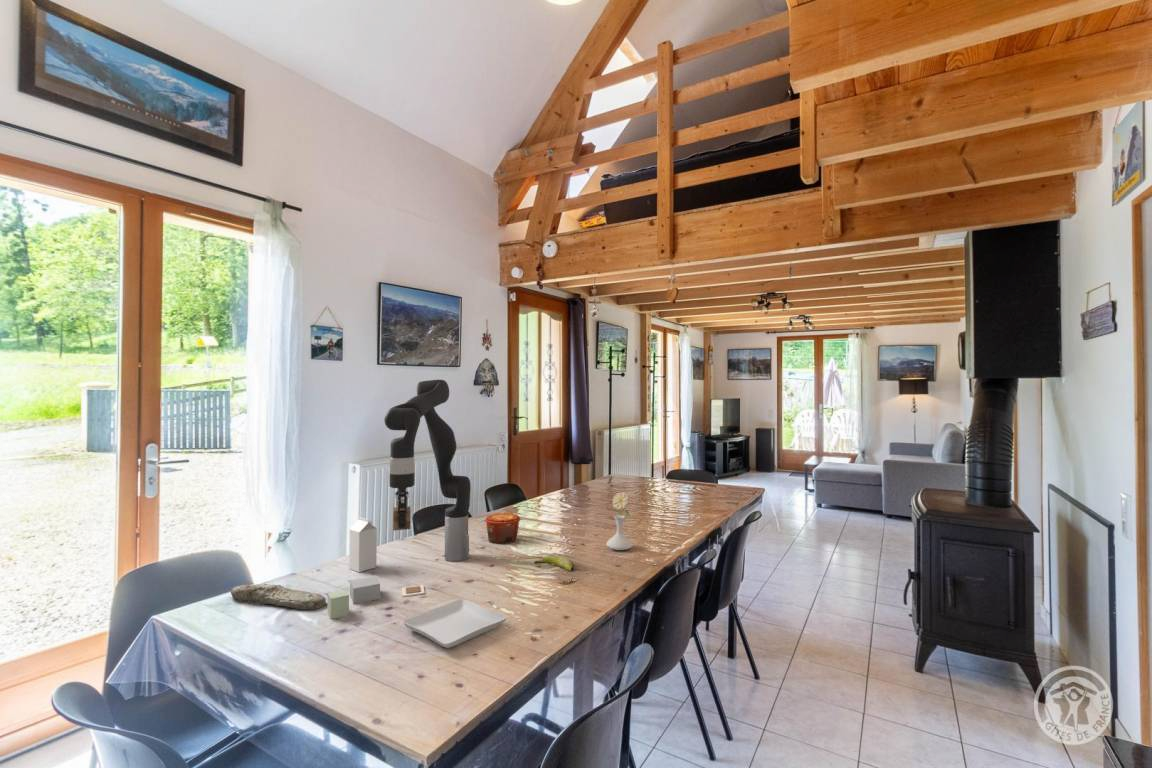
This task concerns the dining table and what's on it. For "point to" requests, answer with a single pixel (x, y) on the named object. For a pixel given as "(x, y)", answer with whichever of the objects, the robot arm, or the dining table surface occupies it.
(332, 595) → the sage block
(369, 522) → the milk carton
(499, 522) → the food container
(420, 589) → the swatch
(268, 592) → the long grey stone
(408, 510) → the walnut block
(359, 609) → the dining table surface
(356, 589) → the base block
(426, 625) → the salad plate
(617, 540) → the flower in vase
